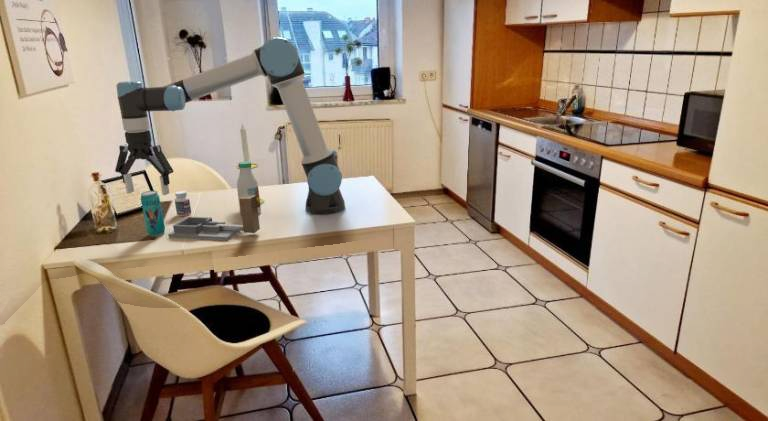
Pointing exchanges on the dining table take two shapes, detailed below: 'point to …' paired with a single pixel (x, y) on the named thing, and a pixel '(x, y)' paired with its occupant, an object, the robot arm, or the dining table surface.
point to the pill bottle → (182, 204)
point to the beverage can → (152, 213)
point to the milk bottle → (247, 183)
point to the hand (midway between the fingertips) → (148, 193)
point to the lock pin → (245, 216)
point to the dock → (201, 229)
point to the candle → (246, 151)
